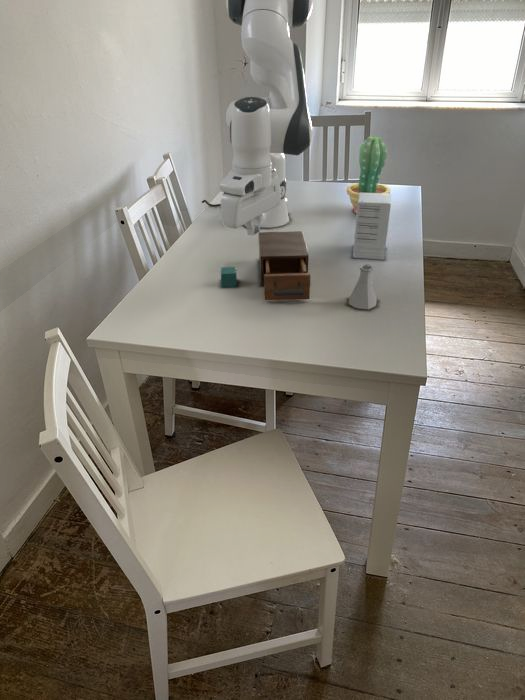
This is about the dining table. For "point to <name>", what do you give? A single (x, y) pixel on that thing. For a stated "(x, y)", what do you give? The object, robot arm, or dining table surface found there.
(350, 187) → the potted cactus
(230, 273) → the block
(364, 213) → the supplement box
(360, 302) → the flask
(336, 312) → the dining table surface
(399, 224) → the dining table surface
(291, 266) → the drawer
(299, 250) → the cabinet
